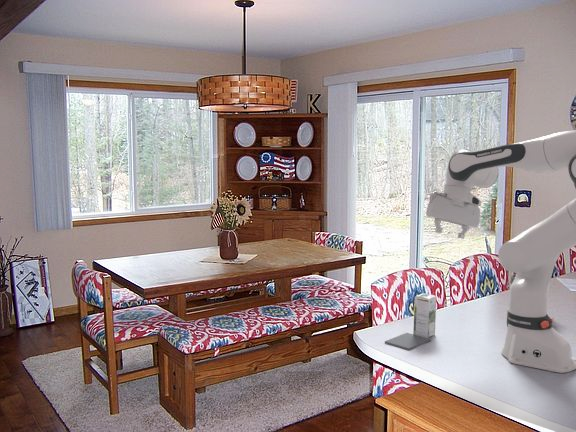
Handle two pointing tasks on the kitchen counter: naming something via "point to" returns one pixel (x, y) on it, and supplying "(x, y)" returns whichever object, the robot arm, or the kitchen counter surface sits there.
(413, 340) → the mat
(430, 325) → the syrup box
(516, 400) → the kitchen counter surface
